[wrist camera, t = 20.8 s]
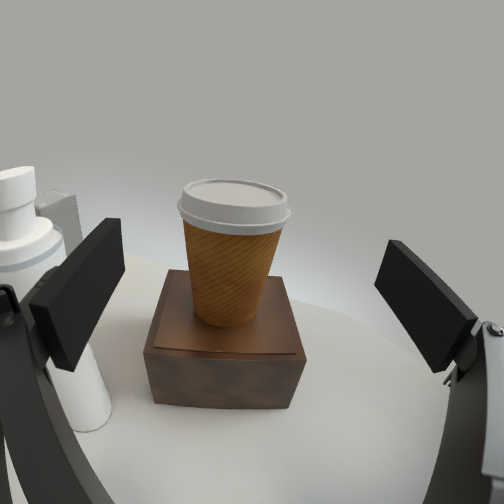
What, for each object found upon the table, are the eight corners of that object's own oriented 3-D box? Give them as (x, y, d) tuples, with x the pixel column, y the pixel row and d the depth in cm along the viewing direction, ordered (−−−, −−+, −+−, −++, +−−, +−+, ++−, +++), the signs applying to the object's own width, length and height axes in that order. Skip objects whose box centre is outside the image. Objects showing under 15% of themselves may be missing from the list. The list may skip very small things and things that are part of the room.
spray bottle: (103, 376, 26) (58, 135, 15) (120, 424, 22) (51, 142, 11) (52, 388, 23) (-19, 151, 12) (62, 437, 18) (-52, 167, 7)
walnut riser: (271, 324, 39) (281, 275, 36) (288, 408, 27) (307, 359, 23) (171, 319, 38) (168, 268, 34) (154, 403, 25) (142, 351, 21)
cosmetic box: (95, 290, 40) (82, 193, 33) (61, 310, 34) (38, 207, 27) (70, 271, 43) (58, 185, 36) (39, 288, 37) (20, 196, 30)
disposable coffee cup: (266, 284, 33) (282, 182, 28) (278, 341, 25) (306, 214, 20) (183, 279, 32) (186, 174, 27) (171, 336, 24) (167, 203, 18)
